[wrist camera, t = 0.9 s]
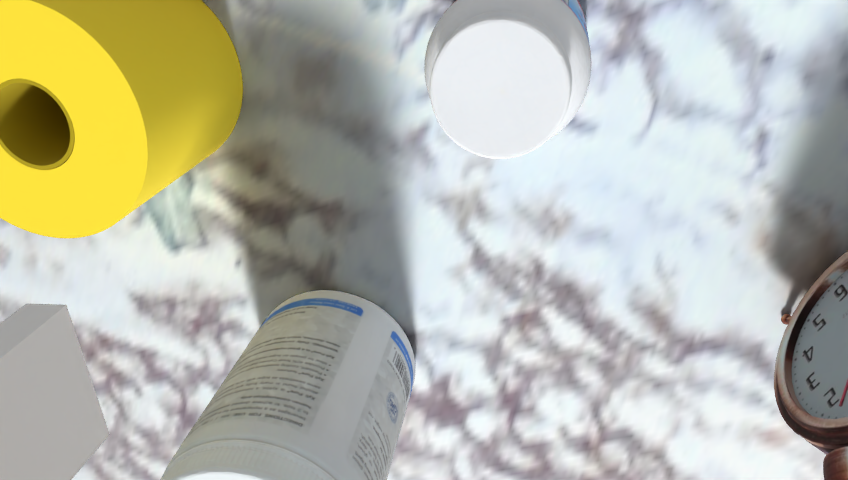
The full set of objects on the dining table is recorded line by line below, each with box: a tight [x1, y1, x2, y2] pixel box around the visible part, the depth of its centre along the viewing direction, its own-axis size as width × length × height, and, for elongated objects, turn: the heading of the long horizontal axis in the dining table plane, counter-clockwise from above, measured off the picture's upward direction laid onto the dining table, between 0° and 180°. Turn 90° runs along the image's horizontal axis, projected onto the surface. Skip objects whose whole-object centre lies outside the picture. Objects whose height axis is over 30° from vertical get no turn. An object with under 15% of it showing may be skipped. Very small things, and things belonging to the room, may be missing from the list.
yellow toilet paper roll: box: [0, 0, 243, 238], centre depth 33 cm, size 10×10×9 cm
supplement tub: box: [161, 290, 415, 480], centre depth 36 cm, size 10×10×15 cm
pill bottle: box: [425, 0, 591, 159], centre depth 28 cm, size 6×6×11 cm
